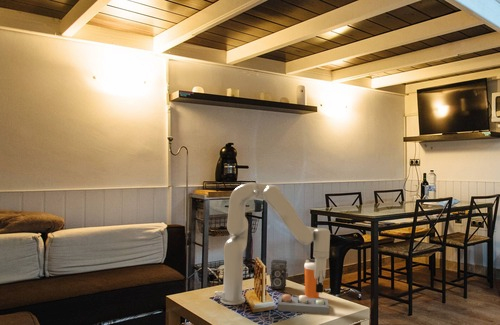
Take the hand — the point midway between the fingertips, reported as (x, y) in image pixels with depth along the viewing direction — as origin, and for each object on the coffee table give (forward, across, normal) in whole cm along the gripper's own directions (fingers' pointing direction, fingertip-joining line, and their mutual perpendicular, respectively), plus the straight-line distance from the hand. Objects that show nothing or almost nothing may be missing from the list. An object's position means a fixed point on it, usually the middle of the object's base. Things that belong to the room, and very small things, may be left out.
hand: (319, 292), depth 197 cm
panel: (+8, 0, -7) cm, 11 cm away
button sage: (+8, 0, +1) cm, 8 cm away
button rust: (+6, 0, -15) cm, 17 cm away
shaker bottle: (+8, -16, -2) cm, 18 cm away
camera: (+9, -28, -20) cm, 36 cm away
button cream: (+6, 0, -7) cm, 10 cm away
